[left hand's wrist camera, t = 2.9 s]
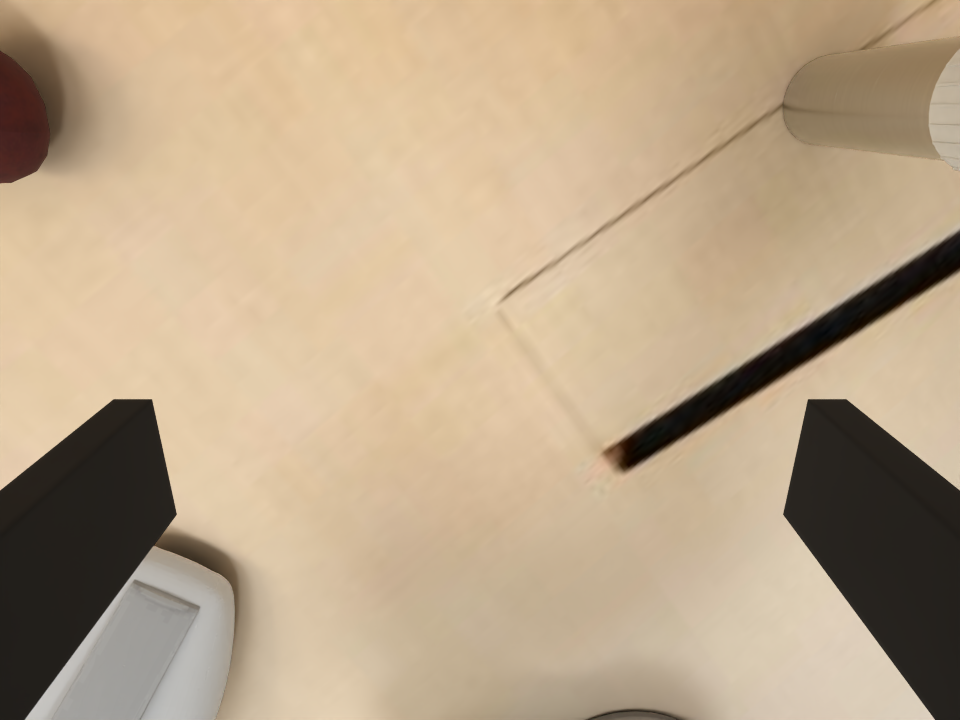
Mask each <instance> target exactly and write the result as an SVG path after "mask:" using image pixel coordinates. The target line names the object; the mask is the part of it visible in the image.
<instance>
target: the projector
mask: <svg viewBox="0 0 960 720" xmlns="http://www.w3.org/2000/svg"><path fill="white" fill-rule="evenodd" d="M234 624H235V605H234V594H233V590H232V586H231V585H230V583H229V582H228V580H227V579H226V578H224V577H223V576H222V575H220V574H219V573H216V572H214V571H212V570H210V569H208V568H206V567H204V566H202V565H200V564H198V563H196V562H194V561H192V560H189V559H187V558H185V557H182V556H180V555H177V554H175V553H172V552H169V551H166V550H163V549H160V548H158V547H156V546H153V547H152V549H151V550H150V551H149V553H148V554H147V555H146V557H145V558H144V559H143V561H142V562H141V564H140V565H139V566H138V568H137V569H136V570H135V572H134V573H133V574H132V576H131V577H130V578H129V580H128V581H127V582H126V584H125V585H124V586H123V588H122V589H121V591H120V592H119V593H118V595H117V596H116V597H115V599H114V600H113V601H112V603H111V604H110V605H109V607H108V608H107V609H106V611H105V612H104V613H103V615H102V616H101V618H100V619H99V620H98V622H97V623H96V624H95V626H94V627H93V628H92V630H91V631H90V632H89V634H88V635H87V636H86V638H85V639H84V641H83V642H82V643H81V645H80V646H79V647H78V649H77V650H76V651H75V653H74V654H73V655H72V657H71V658H70V659H69V661H68V662H67V663H66V665H65V666H64V668H63V669H62V670H61V672H60V673H59V674H58V676H57V677H56V678H55V680H54V681H53V682H52V684H51V685H50V686H49V688H48V689H47V690H46V692H45V693H44V695H43V696H42V697H41V699H40V700H39V701H38V703H37V704H36V705H35V707H34V708H33V709H32V711H31V712H30V713H29V715H28V716H27V718H26V719H25V720H215V719H216V716H217V713H218V711H219V708H220V704H221V701H222V697H223V694H224V691H225V687H226V682H227V678H228V673H229V668H230V662H231V656H232V647H233V639H234Z"/></svg>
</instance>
